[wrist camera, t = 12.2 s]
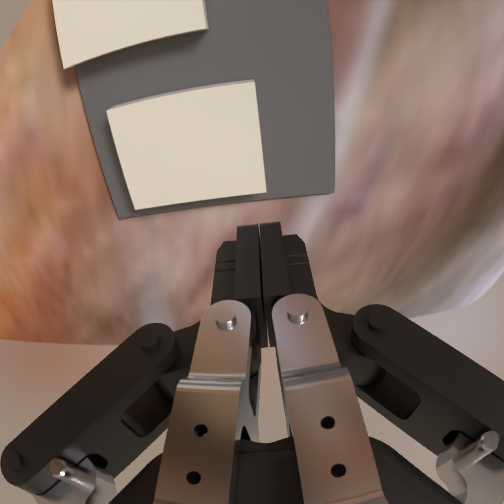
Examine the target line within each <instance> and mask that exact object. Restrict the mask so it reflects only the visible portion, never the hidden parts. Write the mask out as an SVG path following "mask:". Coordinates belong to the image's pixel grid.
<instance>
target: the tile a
mask: <svg viewBox="0 0 504 504" xmlns="http://www.w3.org/2000/svg"><path fill="white" fill-rule="evenodd" d="M52 1H53V9H54V16H55V23H56V30H57V36H58V41H59V47H60V52H61V57H62V62H63V67H64V69H66V68H69V67H73V66H76V65H79V64H81V63H84V62H87V61H89V60H92V59H95V58H98V57H101V56H103V55H106V54H109V53H113V52H116V51H119V50H122V49H125V48H129V47H132V46H136V45H139V44H143V43H147V42H151V41H155V40H159V39H163V38H167V37H172V36H177V35H181V34H186V33H192V32H197V31H203V30H209V27H208V20H207V13H206V6H205V0H52Z"/></svg>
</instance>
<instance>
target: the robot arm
mask: <svg viewBox="0 0 504 504" xmlns="http://www.w3.org/2000/svg"><path fill="white" fill-rule="evenodd" d="M260 241H261V243H260ZM267 327H268V335H269V343H270V347H275V348H276V357H277V366H278V373H279V379H280V385H281V392H282V398H283V405H284V411H285V416H286V424H287V432H288V438H285V439H281V440H278V441H276V442H272V443H259V432H258V410H259V393H260V378H261V366H260V365H261V348H264V347H268V338H267ZM357 396H358V397H359V398H360V399H362V400H363V401H364V402H365V403H367V404H368V405H369V406H371V407H372V408H373V409H375V410H376V411H377V412H378V413H380V414H381V415H383V416H384V417H385V418H387V419H388V420H389V421H390V422H392V423H393V424H394V425H396V426H397V427H398V428H400V429H401V430H403V431H404V432H405V433H407V434H408V435H409V436H411V437H412V438H413V439H415V440H416V441H418V442H419V443H420V444H422V445H423V446H425V447H426V448H427V449H429V450H430V451H431V452H433V453H434V454H436V455H437V456H438V458H437V461H436V471H437V474H438V476H439V478H440V479H441V480H442V481H443V482H444V483H445V484H446V486H447V487H448V490H449V492H448V491H446V490H445V489H444V488H442V487H441V486H440V485H438V484H437V483H436V482H434V481H433V480H432V479H431V478H429V477H428V476H427V475H425V474H424V473H423V472H422V471H420V470H419V469H418V468H416V467H415V466H414V465H413V464H411V463H410V462H409V461H408V460H406V459H405V458H404V457H403V456H401V455H400V454H399V453H398V452H397V451H395V450H394V449H393V448H391V447H390V446H388V445H387V444H385V443H384V442H382V441H379V440H377V439H375V438H371V437H369V436H368V433H367V430H366V426H365V423H364V419H363V416H362V412H361V409H360V405H359V402H358V398H357ZM167 428H168V430H167V435H166V439H165V444H164V449H163V453H161V454H160V455H158V456H157V457H155V458H154V459H153V460H152V461H150V463H148V464H147V465H146V466H145V467H144V468H143V469H142V470H141V471H140V472H139V473H138V474H137V476H135V478H133V479H132V481H131V482H130V483H129V484H128V485H127V486H125V488H124V489H122V490H121V491H120V493H118V494H117V496H116V488H115V481H114V478H115V477H116V476H117V475H118V474H120V473H121V472H122V471H123V470H124V469H125V468H126V467H127V466H128V465H129V464H130V463H131V462H132V461H134V460H135V459H136V458H137V457H138V456H139V455H140V454H141V453H142V452H143V451H144V450H145V449H146V448H147V447H148V446H149V445H150V444H151V443H153V442H154V441H155V440H156V439H157V438H158V437H159V436H160V435H161V434H162V433H163V432H164V431H165V430H166V429H167ZM0 465H1V471H2V474H3V476H4V478H5V479H6V480H7V481H8V482H9V483H10V484H12V485H14V486H17V487H19V488H21V489H23V490H25V491H27V492H29V493H30V494H31V495H33V497H34V498H35V500H36V501H37V503H38V504H502V502H503V500H504V381H503V380H502V379H500V378H498V377H497V376H496V375H494V374H493V373H491V372H490V371H488V370H487V369H485V368H484V367H482V366H481V365H479V364H478V363H476V362H474V361H473V360H471V359H470V358H468V357H467V356H465V355H464V354H462V353H461V352H459V351H458V350H456V349H455V348H453V347H452V346H450V345H448V344H447V343H445V342H444V341H442V340H441V339H439V338H438V337H436V336H434V335H433V334H431V333H430V332H428V331H427V330H425V329H423V328H422V327H420V326H419V325H417V324H416V323H414V322H412V321H411V320H409V319H408V318H406V317H405V316H403V315H401V314H400V313H398V312H397V311H395V310H393V309H392V308H390V307H387V306H385V305H379V304H373V305H368V306H365V307H363V308H361V309H360V310H359V311H358V312H357V313H356V314H355V315H350V314H343V313H338V312H334V311H331V310H329V309H328V308H326V307H324V306H323V305H322V304H321V303H320V301H319V300H318V298H317V295H316V291H315V287H314V282H313V278H312V273H311V269H310V264H309V260H308V256H307V251H306V247H305V243H304V242H303V241H302V240H301V239H300V238H299V237H298V235H297V234H295V235H284V236H282V231H281V225H280V222H272V223H262V224H260V235H259V227H258V224H253V225H243V226H237V240H236V241H226V242H223V244H222V245H221V247H220V248H219V249H218V251H217V256H216V264H215V273H214V281H213V290H212V298H211V306H210V307H208V308H207V309H206V310H205V312H204V313H203V315H202V317H201V321H199V322H198V323H196V324H194V325H192V326H189V327H187V328H184V329H180V330H177V331H174V332H173V331H172V329H171V328H170V327H168V326H167V325H165V324H161V323H151V324H147V325H145V326H143V327H141V328H139V329H138V330H137V331H135V332H134V333H133V334H132V335H131V336H130V337H128V338H127V339H126V340H125V341H124V342H123V343H122V344H120V345H119V346H118V347H117V348H116V349H115V350H114V351H112V352H111V353H110V354H109V355H108V356H107V357H106V358H104V359H103V360H102V361H101V362H100V363H99V364H98V365H96V366H95V367H94V368H93V369H92V370H91V371H90V372H88V373H87V374H86V375H85V376H84V377H83V378H82V379H81V380H80V381H78V382H77V383H76V384H75V385H74V386H73V387H72V388H70V389H69V390H68V391H67V392H66V393H65V394H64V395H63V396H61V397H60V398H59V399H58V400H57V401H56V402H55V403H54V404H53V405H51V406H50V407H49V408H48V409H47V410H46V411H45V412H44V413H43V414H41V415H40V416H39V417H38V418H37V419H36V420H35V421H34V422H32V423H31V424H30V425H29V426H28V427H27V428H26V429H25V430H24V431H22V432H21V433H20V434H19V435H18V436H17V437H16V438H15V439H14V440H13V441H12V442H10V443H9V444H8V445H7V446H6V447H5V449H4V451H3V453H2V456H1V462H0Z"/></svg>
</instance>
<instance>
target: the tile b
mask: <svg viewBox="0 0 504 504" xmlns="http://www.w3.org/2000/svg"><path fill="white" fill-rule="evenodd" d="M106 112H107V116H108V120H109V124H110V128H111V131H112V135H113V139H114V143H115V146H116V150H117V153H118V157H119V160H120V164H121V167H122V170H123V174H124V177H125V180H126V183H127V187H128V190H129V193H130V196H131V199H132V202H133V205H134V208H135V210H138V209H144V208H151V207H157V206H164V205H171V204H177V203H184V202H192V201H199V200H207V199H214V198H222V197H230V196H239V195H247V194H256V193H266V182H265V172H264V162H263V152H262V143H261V133H260V124H259V115H258V106H257V97H256V88H255V81H254V79H252V80H243V81H234V82H227V83H219V84H213V85H206V86H200V87H194V88H189V89H183V90H178V91H173V92H168V93H164V94H159V95H154V96H150V97H146V98H142V99H138V100H134V101H130V102H126V103H122V104H119V105H115V106H113V107H111V108H110V109H108V110H107V111H106Z"/></svg>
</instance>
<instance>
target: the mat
mask: <svg viewBox="0 0 504 504" xmlns="http://www.w3.org/2000/svg"><path fill="white" fill-rule="evenodd" d="M205 6H206V13H207V20H208V27H209V30H203V31H197V32H192V33H186V34H181V35H177V36H172V37H167V38H163V39H159V40H155V41H151V42H147V43H143V44H139V45H136V46H132V47H129V48H125V49H122V50H119V51H116V52H113V53H109V54H106V55H103V56H101V57H98V58H95V59H92V60H89V61H87V62H84V63H81V64H79V65H76V66H75V69H76V74H77V78H78V83H79V87H80V91H81V95H82V99H83V103H84V107H85V111H86V115H87V119H88V123H89V126H90V130H91V133H92V137H93V140H94V144H95V147H96V151H97V154H98V157H99V160H100V164H101V167H102V170H103V173H104V176H105V179H106V182H107V185H108V188H109V191H110V194H111V197H112V200H113V203H114V206H115V208H116V211H117V214H118V217H119V219H121V218H127V217H134V216H140V215H147V214H153V213H160V212H167V211H174V210H181V209H188V208H196V207H203V206H211V205H219V204H227V203H236V202H245V201H253V200H263V199H272V198H282V197H292V196H303V195H314V194H325V193H334V189H335V119H334V87H333V67H332V51H331V38H330V26H329V15H328V5H327V0H205ZM252 79H254V81H255V88H256V97H257V106H258V115H259V124H260V133H261V143H262V152H263V162H264V172H265V182H266V193H256V194H247V195H239V196H230V197H222V198H214V199H207V200H199V201H192V202H184V203H177V204H171V205H164V206H157V207H151V208H144V209H138V210H135V208H134V205H133V202H132V199H131V196H130V193H129V190H128V187H127V183H126V180H125V177H124V174H123V170H122V167H121V164H120V160H119V157H118V153H117V150H116V146H115V143H114V139H113V135H112V131H111V128H110V124H109V120H108V116H107V112H106V111H107V110H108V109H110V108H111V107H113V106H115V105H119V104H122V103H126V102H130V101H134V100H138V99H142V98H146V97H150V96H154V95H159V94H164V93H168V92H173V91H178V90H183V89H189V88H194V87H200V86H206V85H213V84H219V83H227V82H234V81H243V80H252Z"/></svg>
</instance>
